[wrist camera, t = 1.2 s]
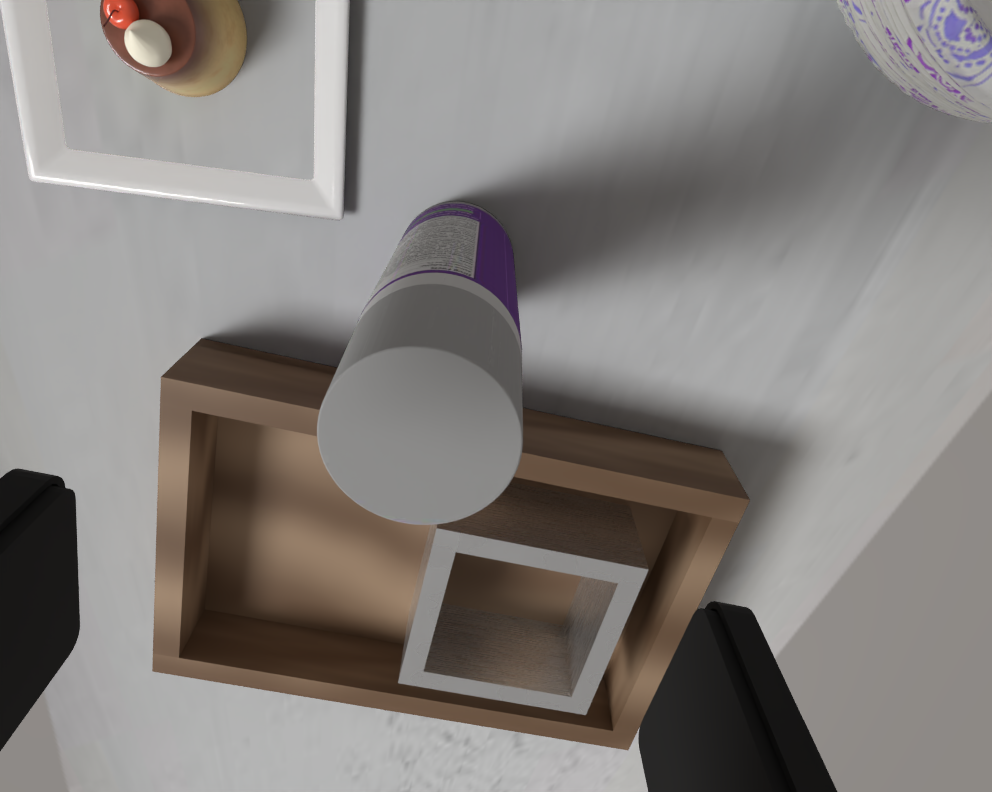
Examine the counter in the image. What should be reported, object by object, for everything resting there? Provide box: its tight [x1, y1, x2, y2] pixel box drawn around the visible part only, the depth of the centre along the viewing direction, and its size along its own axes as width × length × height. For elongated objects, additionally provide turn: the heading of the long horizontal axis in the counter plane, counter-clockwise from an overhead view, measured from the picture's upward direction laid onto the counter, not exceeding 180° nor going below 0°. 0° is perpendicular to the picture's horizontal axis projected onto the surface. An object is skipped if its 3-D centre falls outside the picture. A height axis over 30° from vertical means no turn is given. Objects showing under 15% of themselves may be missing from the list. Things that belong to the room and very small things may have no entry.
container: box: [317, 202, 523, 525], centre depth 21 cm, size 5×5×15 cm
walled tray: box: [153, 338, 750, 750], centre depth 33 cm, size 16×24×4 cm, turn 76°
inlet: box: [398, 482, 649, 715], centre depth 32 cm, size 9×9×4 cm
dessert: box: [0, 0, 350, 221], centre depth 23 cm, size 12×12×5 cm
